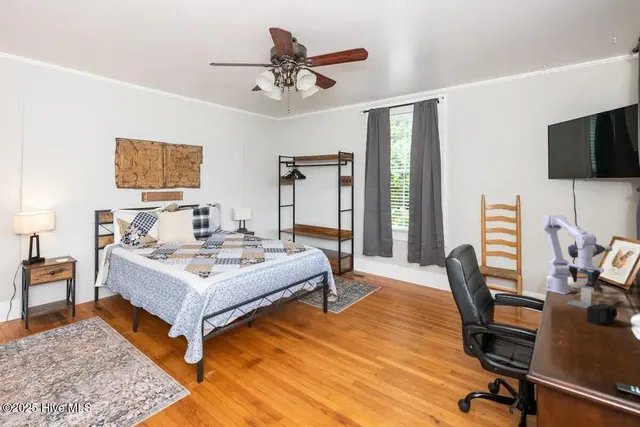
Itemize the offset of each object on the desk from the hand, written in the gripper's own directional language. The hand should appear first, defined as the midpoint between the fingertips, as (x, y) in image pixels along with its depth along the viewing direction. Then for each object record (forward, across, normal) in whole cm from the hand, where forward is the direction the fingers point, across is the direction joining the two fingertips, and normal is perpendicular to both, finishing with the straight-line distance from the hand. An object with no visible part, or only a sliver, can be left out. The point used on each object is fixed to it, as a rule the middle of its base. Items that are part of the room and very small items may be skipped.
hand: (584, 283), depth 163 cm
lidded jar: (+10, -12, +28) cm, 33 cm away
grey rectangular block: (+10, +3, -4) cm, 11 cm away
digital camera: (+10, +14, -24) cm, 30 cm away
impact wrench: (+10, -11, +42) cm, 45 cm away
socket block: (+10, +3, +9) cm, 13 cm away
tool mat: (+10, +3, -5) cm, 11 cm away
